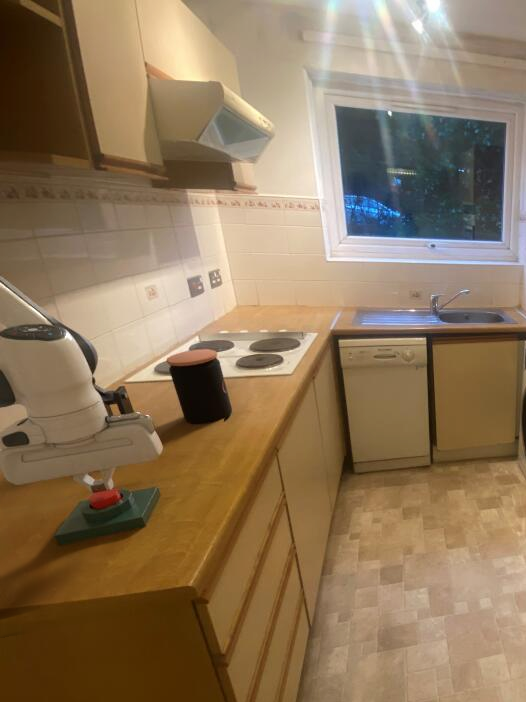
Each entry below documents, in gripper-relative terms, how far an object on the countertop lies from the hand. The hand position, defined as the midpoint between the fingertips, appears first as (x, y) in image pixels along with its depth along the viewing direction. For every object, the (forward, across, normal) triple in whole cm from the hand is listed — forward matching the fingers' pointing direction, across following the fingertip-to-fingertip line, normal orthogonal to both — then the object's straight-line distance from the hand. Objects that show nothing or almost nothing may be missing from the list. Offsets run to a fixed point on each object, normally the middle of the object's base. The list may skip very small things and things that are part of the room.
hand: (102, 490), depth 77 cm
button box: (+6, 0, 0) cm, 6 cm away
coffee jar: (+6, -9, -40) cm, 41 cm away
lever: (-8, +7, -28) cm, 30 cm away
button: (+3, 0, 0) cm, 3 cm away
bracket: (+6, +7, -33) cm, 34 cm away
